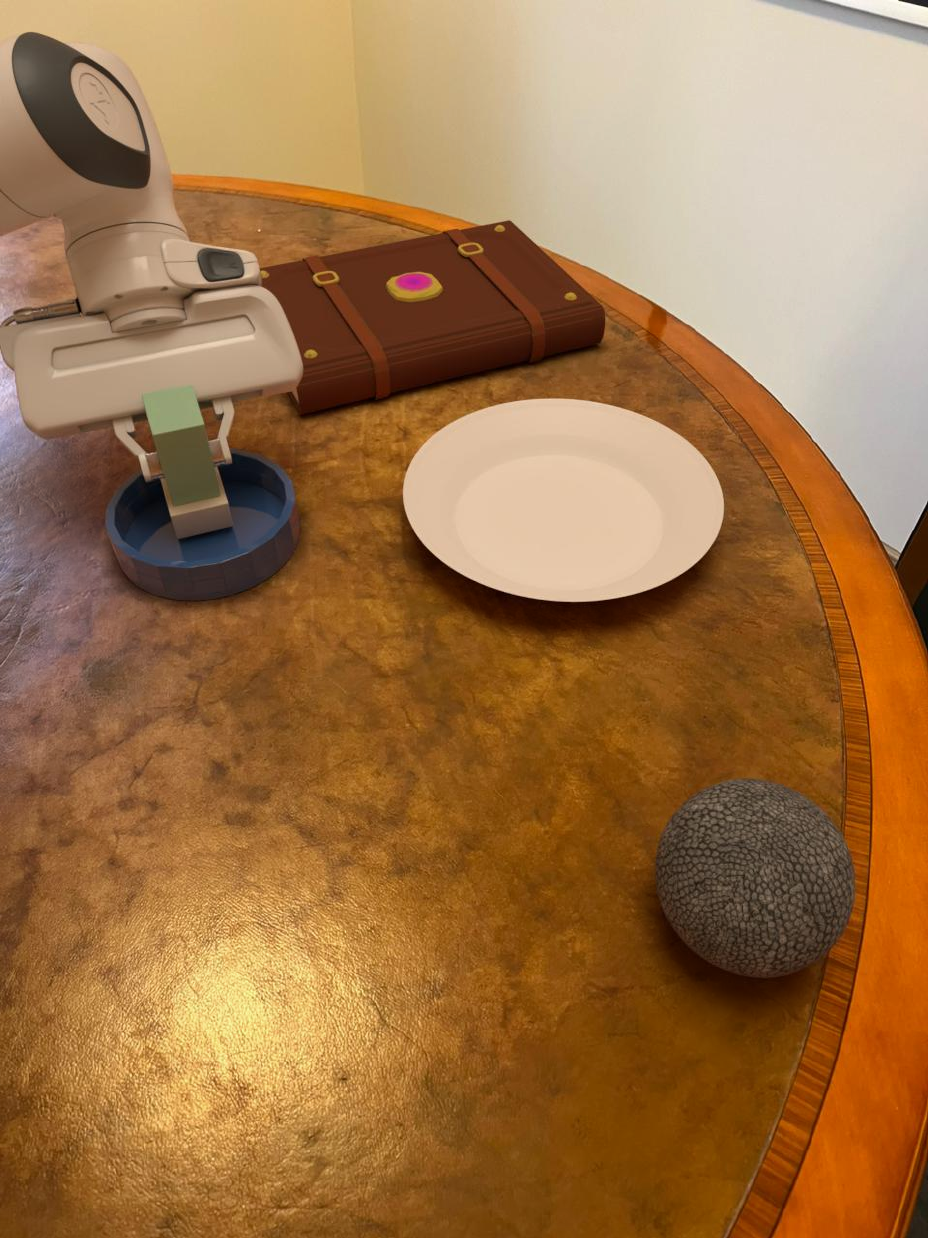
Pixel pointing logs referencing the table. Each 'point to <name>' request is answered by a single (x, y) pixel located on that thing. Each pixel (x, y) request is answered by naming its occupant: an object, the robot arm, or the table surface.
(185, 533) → the green block on base
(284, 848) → the table surface
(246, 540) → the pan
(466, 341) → the book
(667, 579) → the white dinner plate
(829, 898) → the decorative ball
